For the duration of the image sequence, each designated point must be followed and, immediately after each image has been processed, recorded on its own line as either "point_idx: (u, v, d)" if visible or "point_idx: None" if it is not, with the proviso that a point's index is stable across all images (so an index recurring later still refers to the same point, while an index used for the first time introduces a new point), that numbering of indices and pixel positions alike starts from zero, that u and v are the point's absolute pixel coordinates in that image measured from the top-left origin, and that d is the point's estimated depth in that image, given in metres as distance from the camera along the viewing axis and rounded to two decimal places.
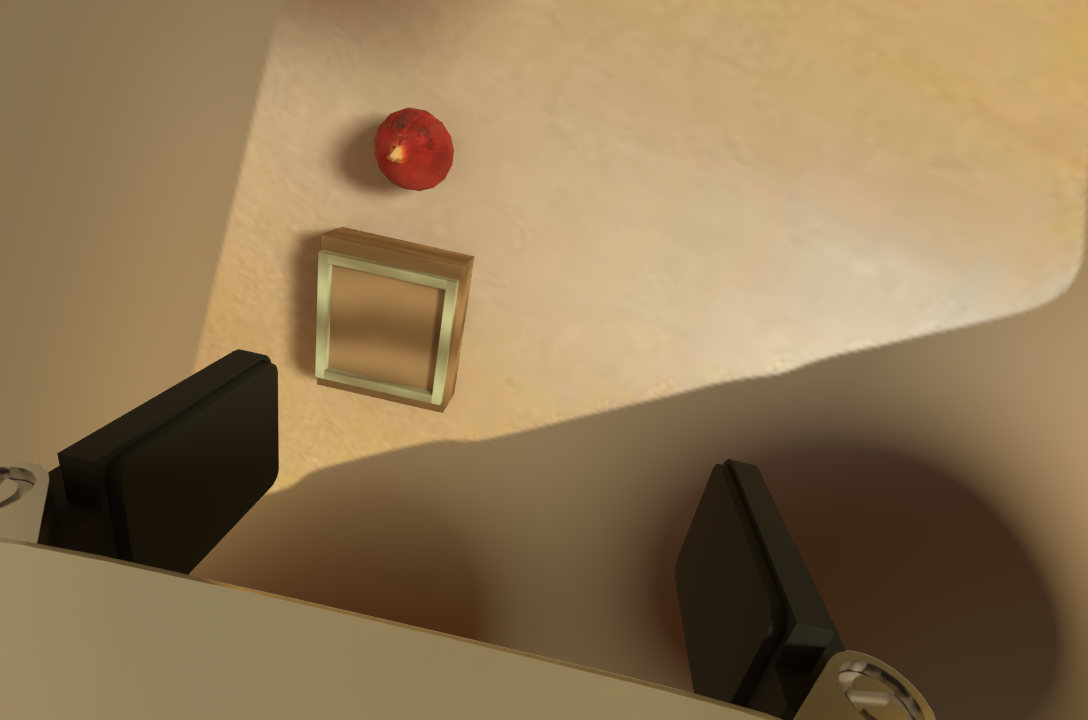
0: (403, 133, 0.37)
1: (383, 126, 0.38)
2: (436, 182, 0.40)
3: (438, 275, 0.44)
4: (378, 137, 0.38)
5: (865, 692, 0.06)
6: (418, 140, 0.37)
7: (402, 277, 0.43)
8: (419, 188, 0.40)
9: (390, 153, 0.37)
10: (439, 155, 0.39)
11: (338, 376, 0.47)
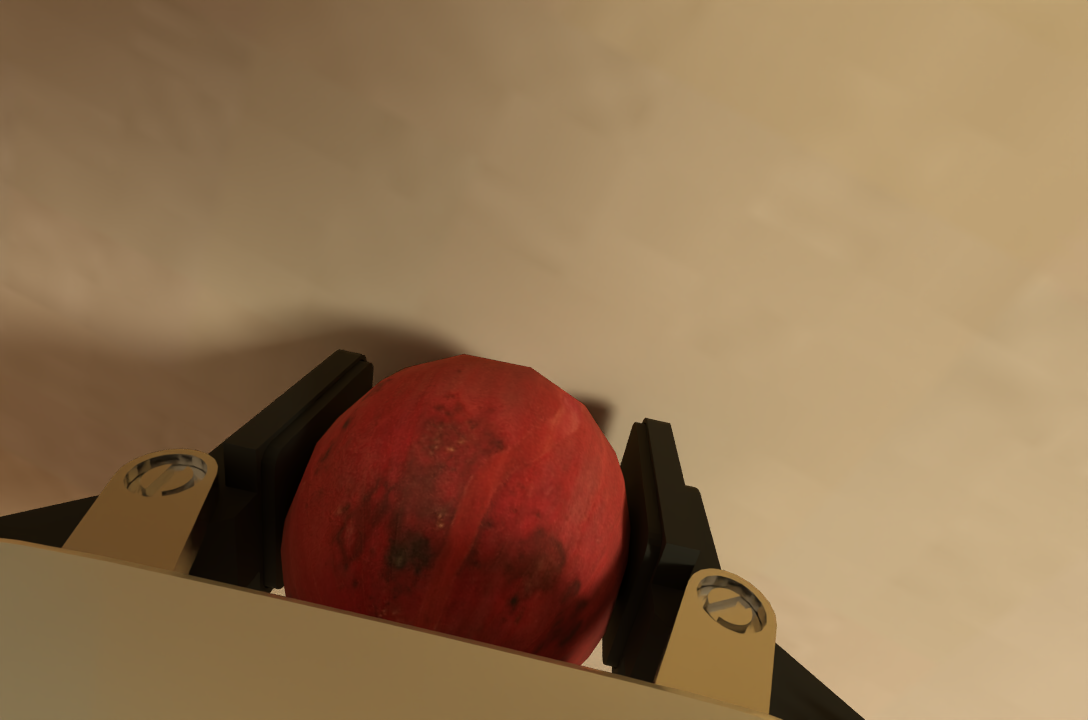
0: (429, 615, 0.06)
1: (318, 506, 0.07)
2: None
3: None
4: (292, 564, 0.07)
5: (719, 602, 0.07)
6: (510, 637, 0.06)
7: None
8: None
9: None
10: (601, 623, 0.08)
11: None
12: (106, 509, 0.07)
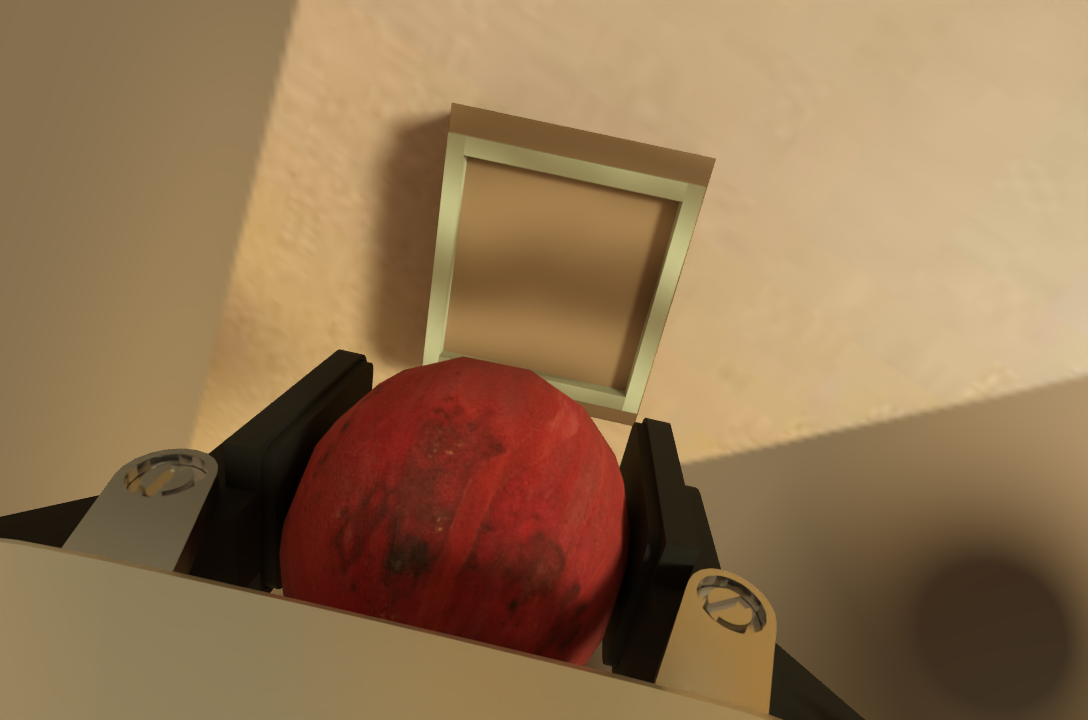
0: (427, 620, 0.06)
1: (316, 510, 0.07)
2: None
3: (665, 177, 0.24)
4: (290, 568, 0.07)
5: (719, 602, 0.07)
6: (509, 642, 0.06)
7: (603, 179, 0.23)
8: None
9: None
10: (600, 627, 0.08)
11: None
12: (106, 509, 0.07)
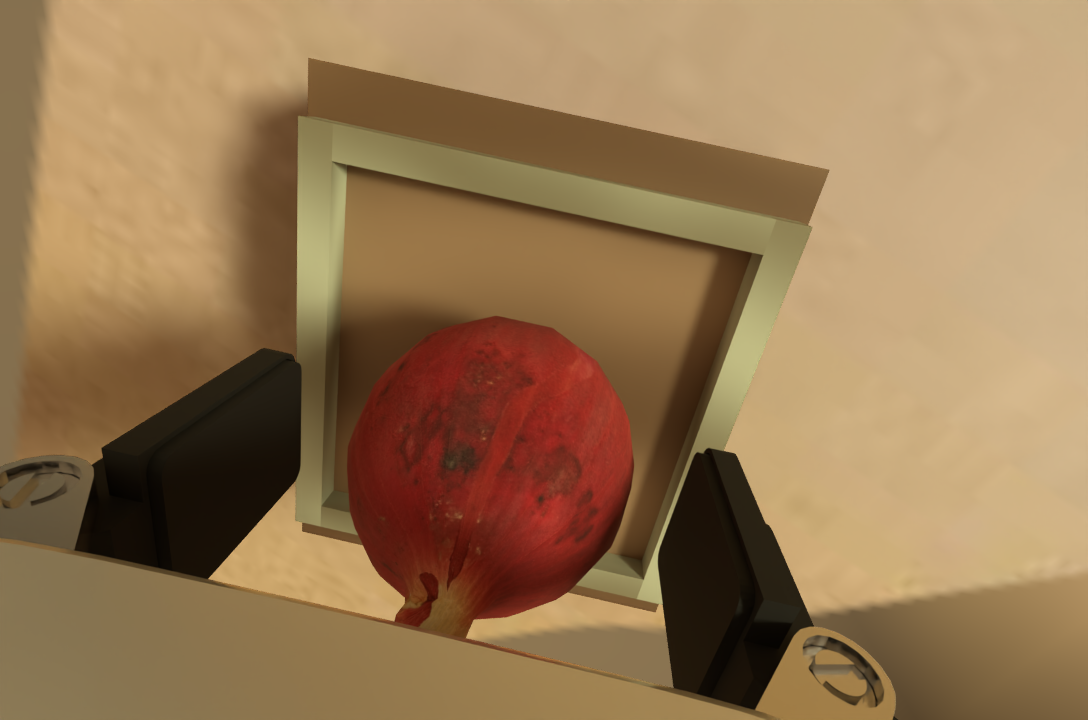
0: (474, 504, 0.08)
1: (382, 428, 0.09)
2: None
3: (727, 205, 0.12)
4: (360, 474, 0.09)
5: (828, 665, 0.07)
6: (537, 527, 0.08)
7: (605, 210, 0.12)
8: None
9: (410, 623, 0.07)
10: (608, 533, 0.10)
11: None
12: None
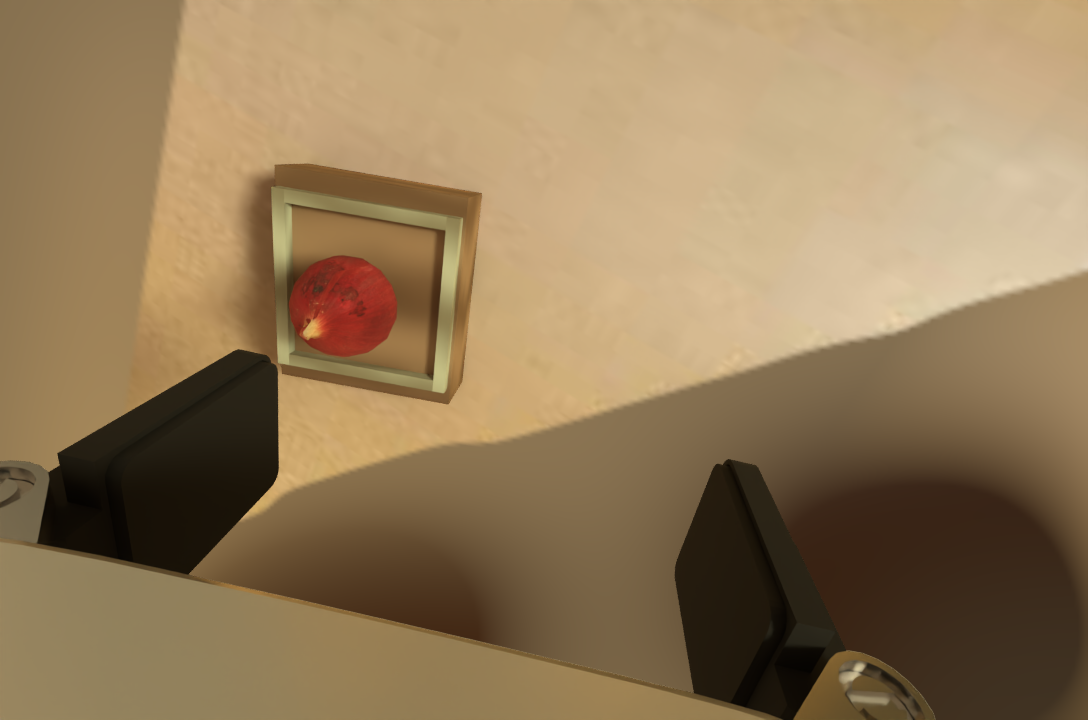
0: (321, 300, 0.28)
1: (298, 286, 0.29)
2: (375, 346, 0.31)
3: (435, 212, 0.32)
4: (291, 301, 0.29)
5: (865, 692, 0.06)
6: (341, 308, 0.28)
7: (386, 216, 0.32)
8: (352, 355, 0.31)
9: (302, 330, 0.27)
10: (374, 320, 0.29)
11: (307, 360, 0.36)
12: None
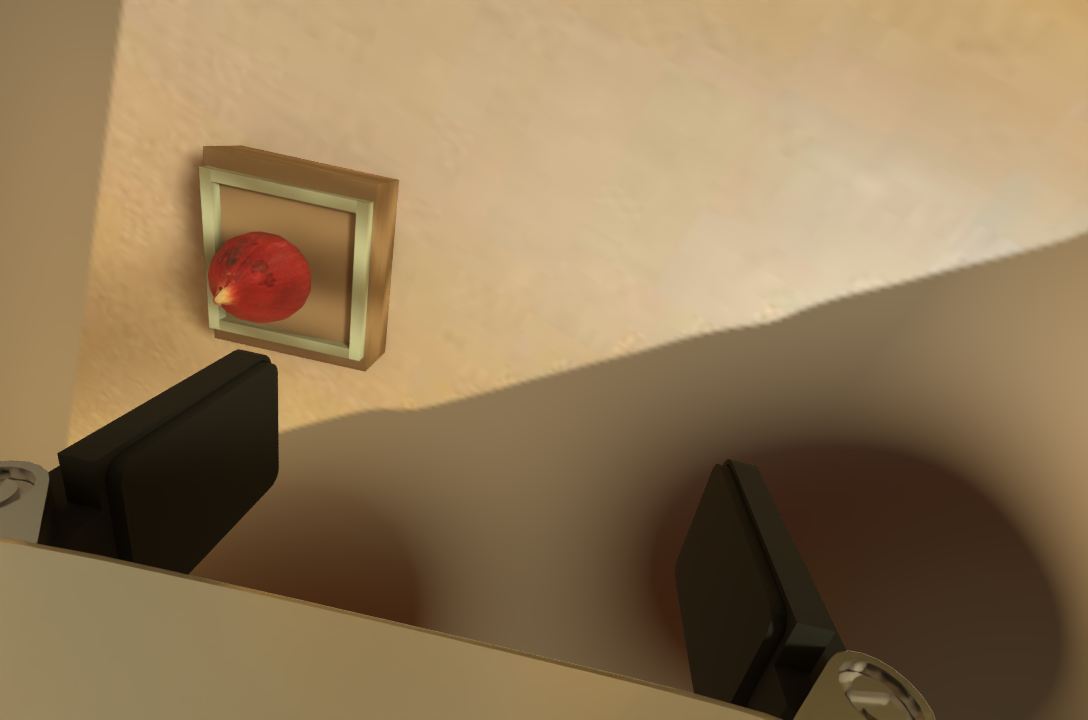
0: (233, 270, 0.31)
1: (215, 258, 0.32)
2: (288, 314, 0.35)
3: (348, 196, 0.35)
4: (209, 271, 0.32)
5: (865, 692, 0.06)
6: (251, 278, 0.31)
7: (302, 198, 0.35)
8: (268, 322, 0.35)
9: (214, 296, 0.31)
10: (284, 290, 0.33)
11: (236, 326, 0.39)
12: None
